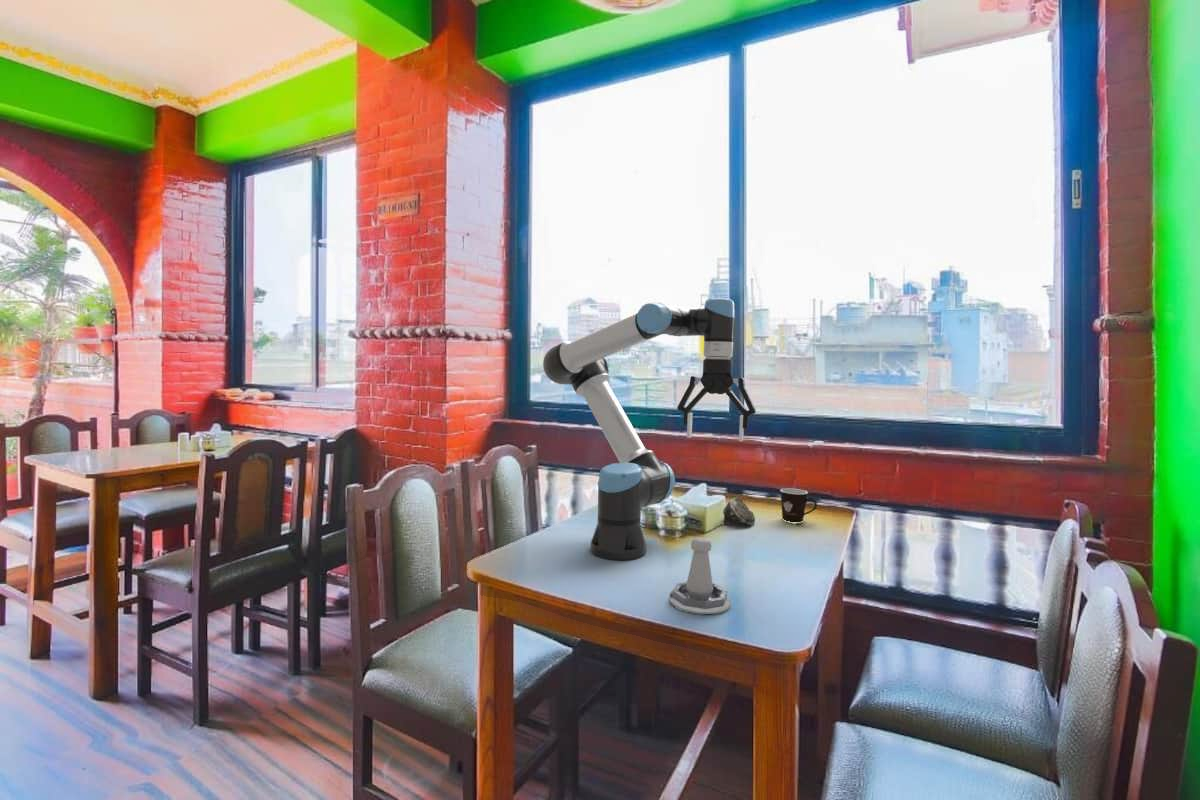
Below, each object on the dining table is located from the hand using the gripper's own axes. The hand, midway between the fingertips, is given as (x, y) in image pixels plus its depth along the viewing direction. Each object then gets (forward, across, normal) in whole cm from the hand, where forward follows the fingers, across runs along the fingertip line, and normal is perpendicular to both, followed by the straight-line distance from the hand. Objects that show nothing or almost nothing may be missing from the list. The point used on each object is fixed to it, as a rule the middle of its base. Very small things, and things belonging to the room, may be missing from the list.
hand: (714, 439), depth 157 cm
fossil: (+32, +3, +36) cm, 49 cm away
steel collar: (+32, +3, -31) cm, 44 cm away
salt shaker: (+31, +3, -31) cm, 44 cm away
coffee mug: (+32, +20, +46) cm, 59 cm away
